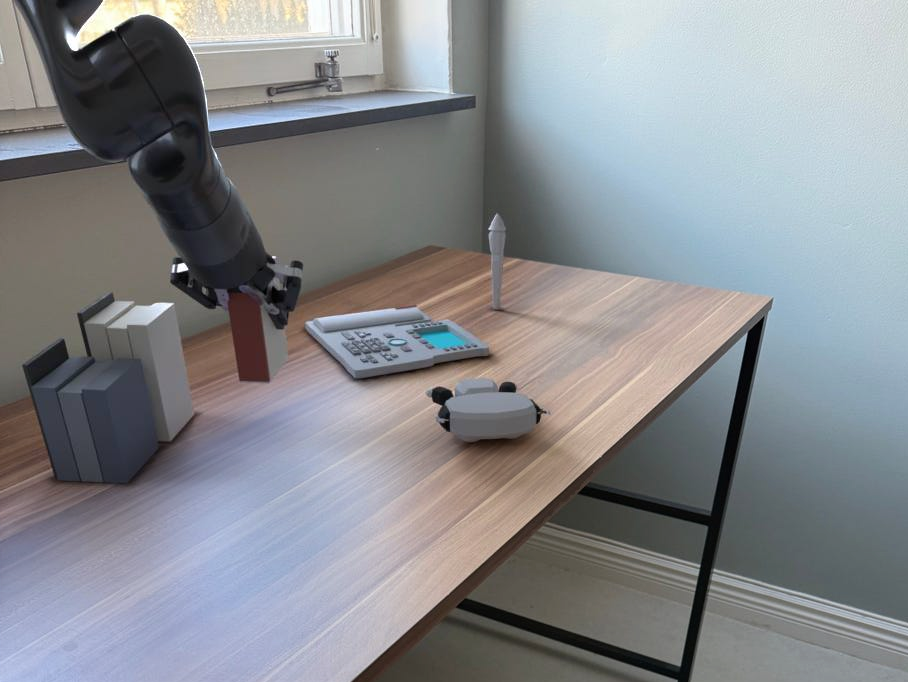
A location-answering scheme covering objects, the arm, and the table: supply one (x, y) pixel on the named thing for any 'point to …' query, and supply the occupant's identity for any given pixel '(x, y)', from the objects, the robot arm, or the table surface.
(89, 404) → the grey books
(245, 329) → the cream book
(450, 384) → the table surface
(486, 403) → the robot toy
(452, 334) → the office telephone
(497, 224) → the pen
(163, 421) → the white books
